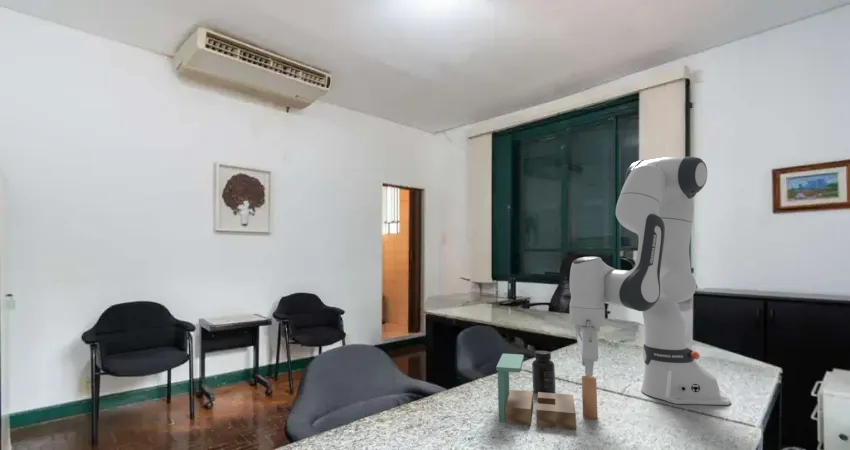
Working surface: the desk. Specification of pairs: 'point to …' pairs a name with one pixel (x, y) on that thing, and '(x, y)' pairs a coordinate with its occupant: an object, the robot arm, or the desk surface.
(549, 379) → the supplement bottle
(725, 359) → the desk surface
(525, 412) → the socket block
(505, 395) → the teal u-shaped bracket
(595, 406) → the peg
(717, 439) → the desk surface
